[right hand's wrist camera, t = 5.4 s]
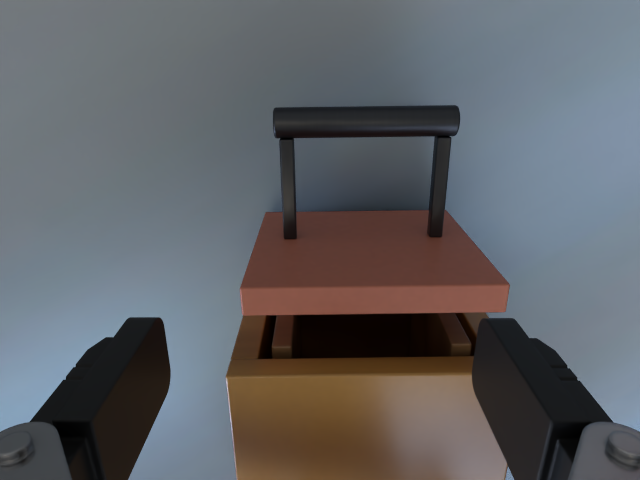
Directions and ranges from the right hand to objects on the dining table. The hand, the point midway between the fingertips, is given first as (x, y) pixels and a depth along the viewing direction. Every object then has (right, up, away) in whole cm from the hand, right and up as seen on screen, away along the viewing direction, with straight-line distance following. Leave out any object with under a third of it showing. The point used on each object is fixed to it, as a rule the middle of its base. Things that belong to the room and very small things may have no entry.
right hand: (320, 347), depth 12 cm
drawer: (+2, -2, +16) cm, 16 cm away
